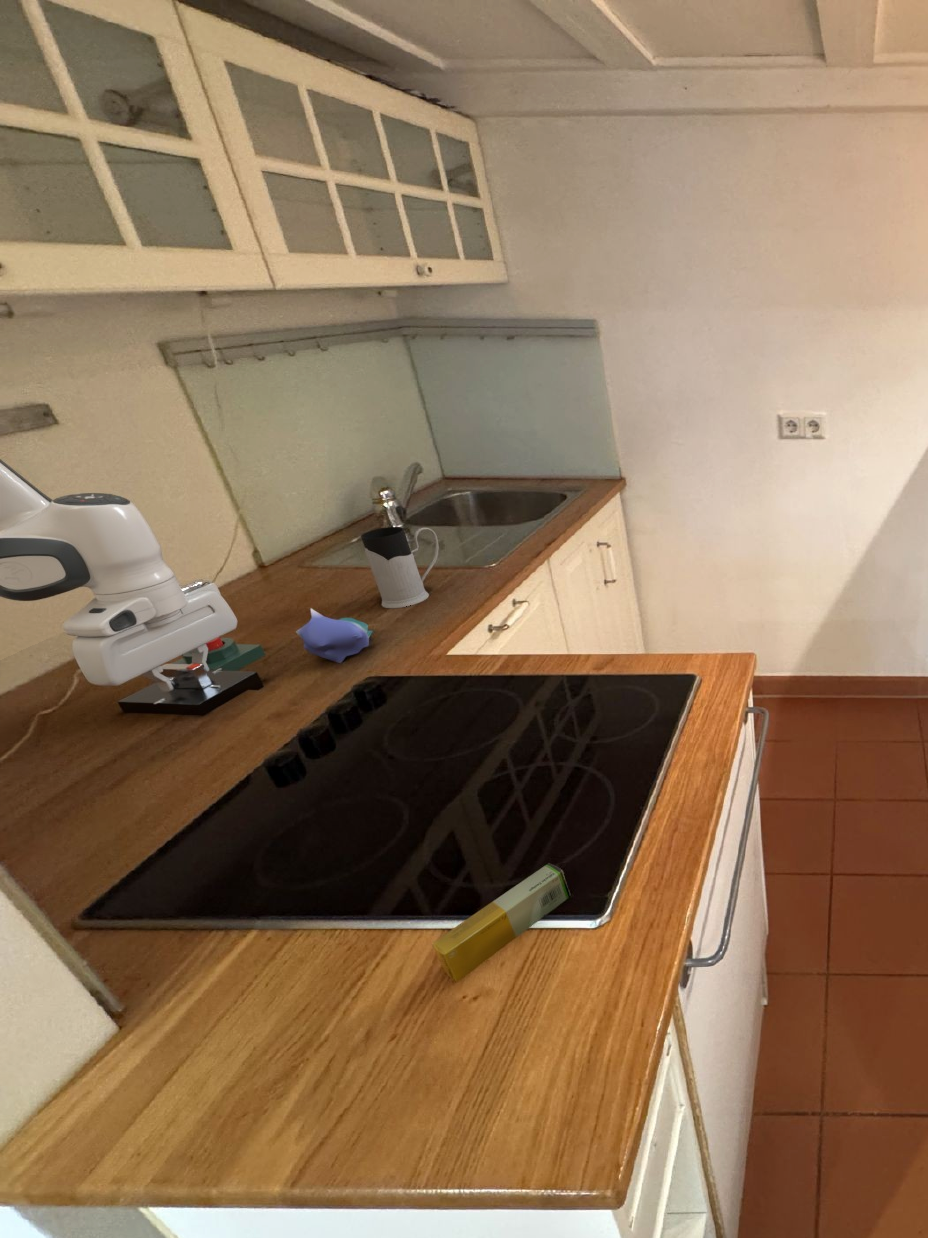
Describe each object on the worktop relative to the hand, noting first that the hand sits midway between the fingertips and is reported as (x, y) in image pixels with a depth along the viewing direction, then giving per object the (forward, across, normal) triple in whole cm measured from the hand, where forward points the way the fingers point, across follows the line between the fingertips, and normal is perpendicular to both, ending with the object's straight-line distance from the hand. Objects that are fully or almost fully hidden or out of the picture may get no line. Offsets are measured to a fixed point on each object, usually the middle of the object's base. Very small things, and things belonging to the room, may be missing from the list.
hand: (186, 681), depth 107 cm
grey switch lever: (+1, 0, 0) cm, 1 cm away
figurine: (+4, -17, +12) cm, 21 cm away
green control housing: (+4, -11, -8) cm, 14 cm away
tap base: (+4, 0, 0) cm, 4 cm away
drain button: (0, -11, -8) cm, 14 cm away
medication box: (+4, +38, +76) cm, 85 cm away
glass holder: (+4, -43, +7) cm, 44 cm away
